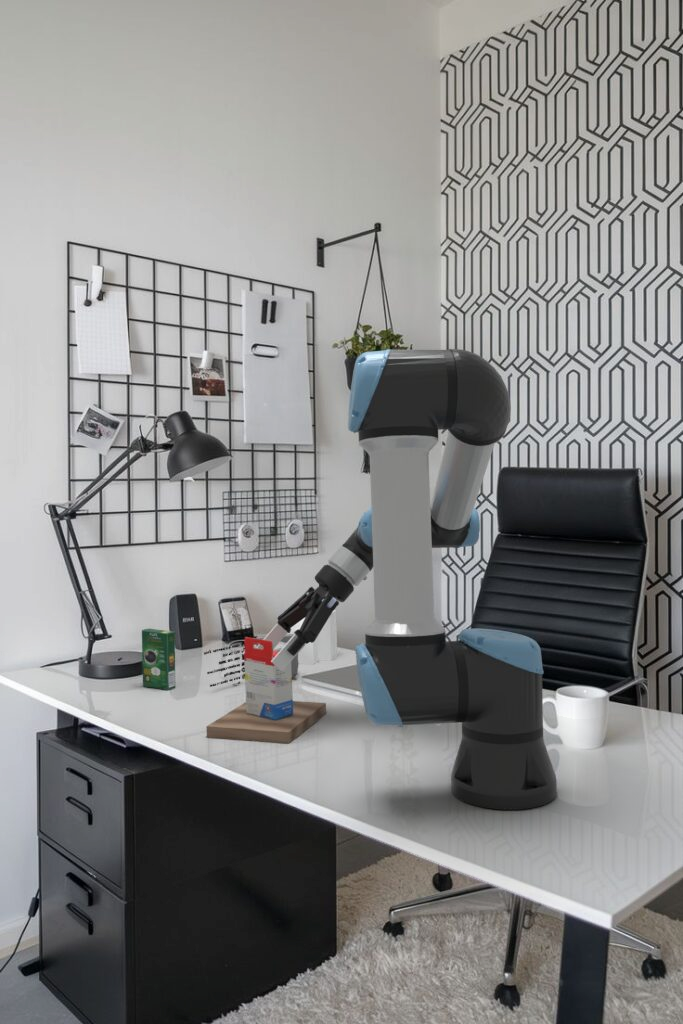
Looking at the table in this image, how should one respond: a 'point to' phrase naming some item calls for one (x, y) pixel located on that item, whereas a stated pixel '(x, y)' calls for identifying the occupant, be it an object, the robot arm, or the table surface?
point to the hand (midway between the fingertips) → (268, 659)
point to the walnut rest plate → (266, 724)
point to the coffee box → (158, 658)
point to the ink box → (266, 682)
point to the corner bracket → (319, 643)
